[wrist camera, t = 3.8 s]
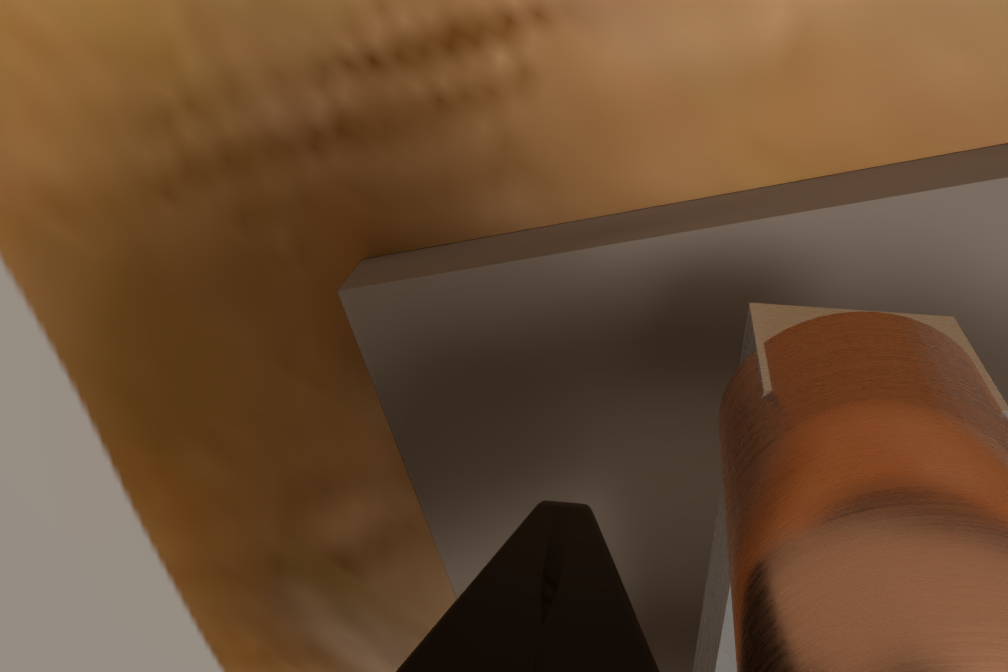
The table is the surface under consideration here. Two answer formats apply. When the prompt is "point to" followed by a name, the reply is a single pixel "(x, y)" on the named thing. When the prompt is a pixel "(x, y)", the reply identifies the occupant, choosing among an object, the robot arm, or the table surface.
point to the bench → (650, 353)
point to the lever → (858, 500)
